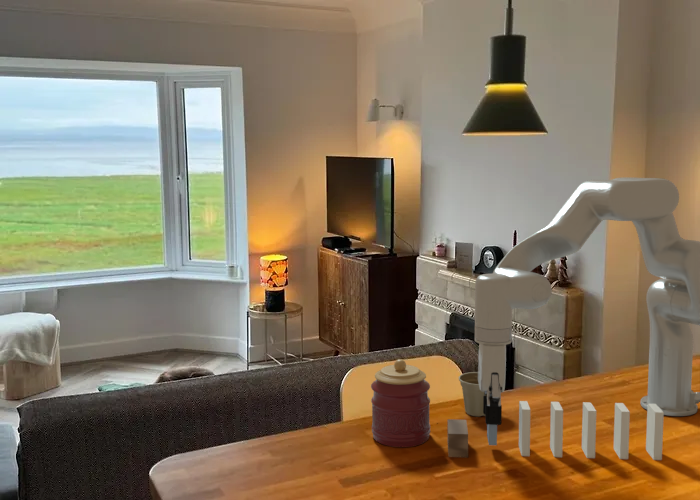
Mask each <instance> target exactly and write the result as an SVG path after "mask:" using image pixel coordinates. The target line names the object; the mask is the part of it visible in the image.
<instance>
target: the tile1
mask: <svg viewBox="0 0 700 500" xmlns="http://www.w3.org/2000/svg"><path fill="white" fill-rule="evenodd" d="M646 413H647V414H646V436H645V438H646V439H645V450H646V452H647V453H648V455H649V456H650V457H651V458H652V460H653V461H662V460H663V440H664V438H663V436H664V417H665V415H664V412H663V411H662V410H661V409H660V408H659V407H658V406H657V405H656V404H648V405H647V410H646Z"/></svg>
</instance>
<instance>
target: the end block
mask: <svg viewBox="0 0 700 500" xmlns="http://www.w3.org/2000/svg"><path fill="white" fill-rule="evenodd" d="M468 430H469V429H468V423H467V419H455V418H454V419H449V418H448V419H447V453H448V455H447V456H448V458H469V432H468Z"/></svg>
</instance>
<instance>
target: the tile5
mask: <svg viewBox="0 0 700 500" xmlns="http://www.w3.org/2000/svg"><path fill="white" fill-rule="evenodd" d="M518 405H519V406H518V407H519V409H518V448H519V452H520V455H521V456H522V457H530V456H531V455H530V454H531V451H530V450H531V407H530V405H529V403H528V400H519V403H518Z"/></svg>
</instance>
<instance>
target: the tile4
mask: <svg viewBox="0 0 700 500" xmlns="http://www.w3.org/2000/svg"><path fill="white" fill-rule="evenodd" d="M549 421H550V425H549V427H550V429H549V430H550V433H549V434H550V436H549V448H550V450H551V452H552V455H553V457H554V458H563V444H564V443H563V436H564V432H563V431H564V409H563V407H562V405H561V404H560V402H559V401H550V420H549Z"/></svg>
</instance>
